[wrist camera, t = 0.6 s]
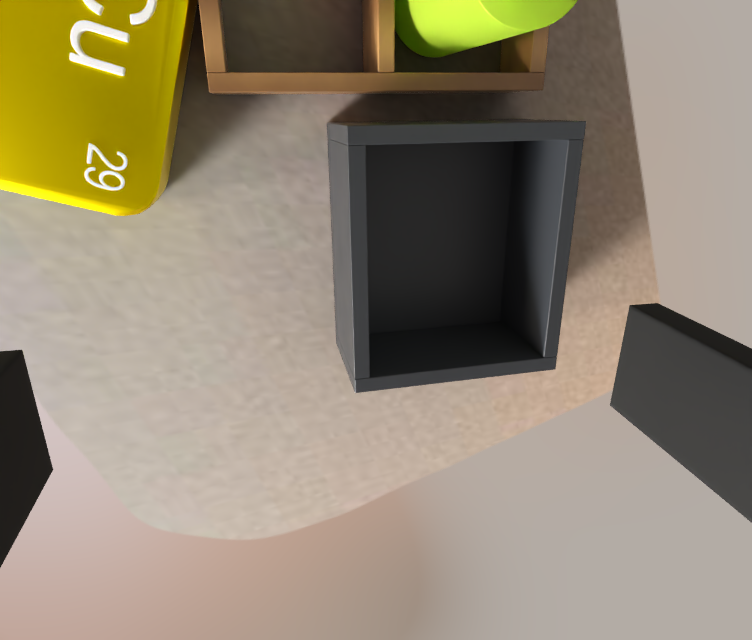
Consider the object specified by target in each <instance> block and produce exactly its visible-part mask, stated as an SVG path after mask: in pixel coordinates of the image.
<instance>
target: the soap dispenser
mask: <svg viewBox="0 0 752 640" xmlns="http://www.w3.org/2000/svg"><path fill="white" fill-rule="evenodd" d="M577 1H578V0H395V30H396V32H397V34H398V36H399V37H400V39H401V40H402V41H403V43H404V44H405V45H406V46H407V47H408V48H409V49H411V50H412V51H414V52H415V53H417V54H419V55H422V56H426V57H442V56H446V55H450V54H453V53H457V52H460V51H464V50H467V49H471V48H474V47H478V46H481V45H485V44H488V43H492V42H495V41H499V40H502V39H506V38H509V37H513V36H516V35H520V34H523V33H527V32H530V31H534V30H537V29H540V28H544V27H546V26H548V25H551V24H553V23H554V22H556V21H557V20H559V19H560V18H562V17H563V16H564V15H565V14H566V13H567V12H568V11H569V10H570V9H571V8H572V7H573V6H574V5H575V3H576V2H577Z"/></svg>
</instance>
